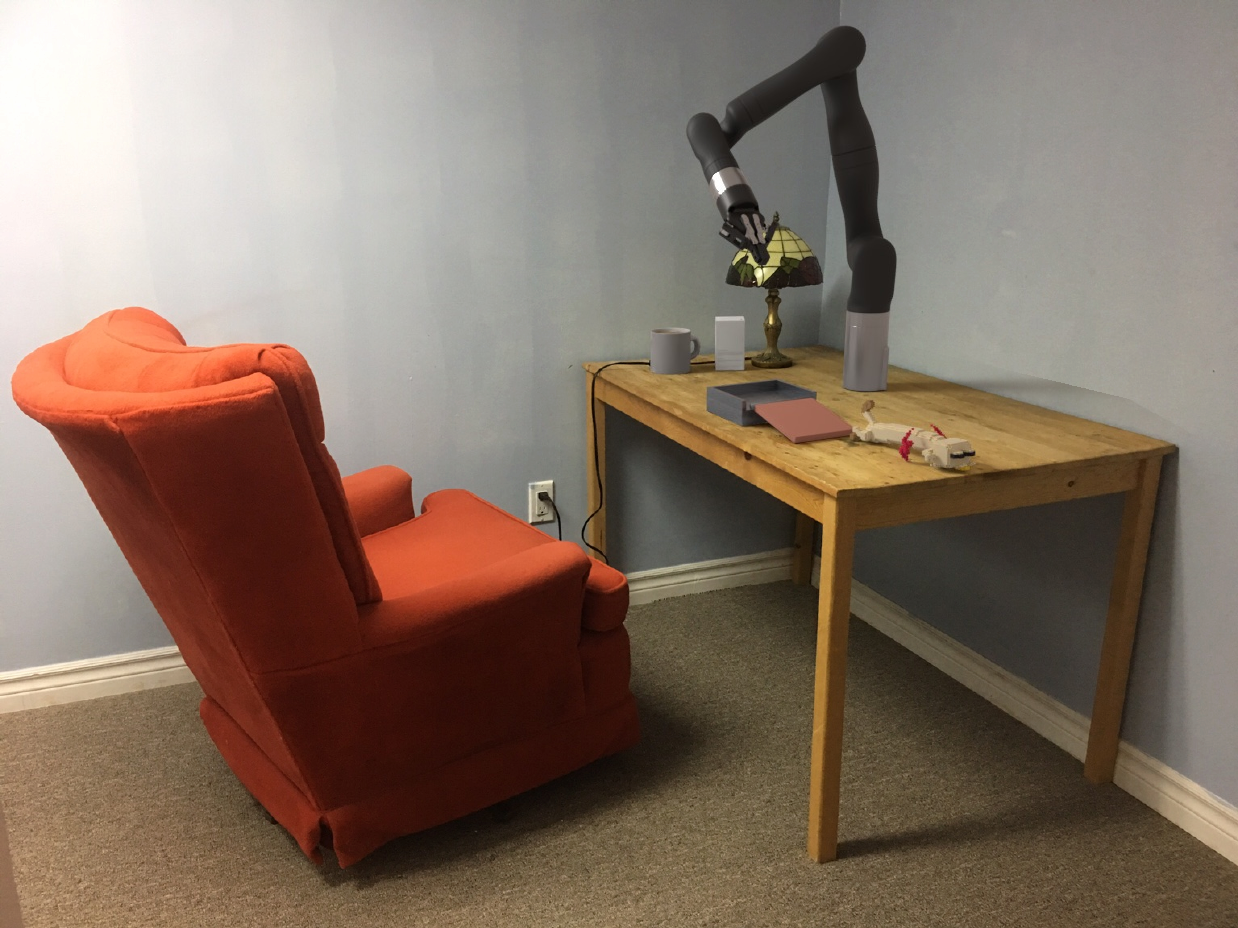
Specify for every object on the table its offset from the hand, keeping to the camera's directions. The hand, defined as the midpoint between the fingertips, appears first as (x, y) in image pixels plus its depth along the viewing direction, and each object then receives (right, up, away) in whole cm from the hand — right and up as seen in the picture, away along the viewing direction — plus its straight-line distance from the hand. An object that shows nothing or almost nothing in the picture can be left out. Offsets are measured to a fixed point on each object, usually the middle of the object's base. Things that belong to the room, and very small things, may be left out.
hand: (764, 262), depth 177 cm
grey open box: (+1, -29, +9) cm, 30 cm away
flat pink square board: (+4, -27, +1) cm, 27 cm away
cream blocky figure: (+22, -38, -21) cm, 48 cm away
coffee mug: (-14, -16, +53) cm, 57 cm away
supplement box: (0, -15, +54) cm, 56 cm away
